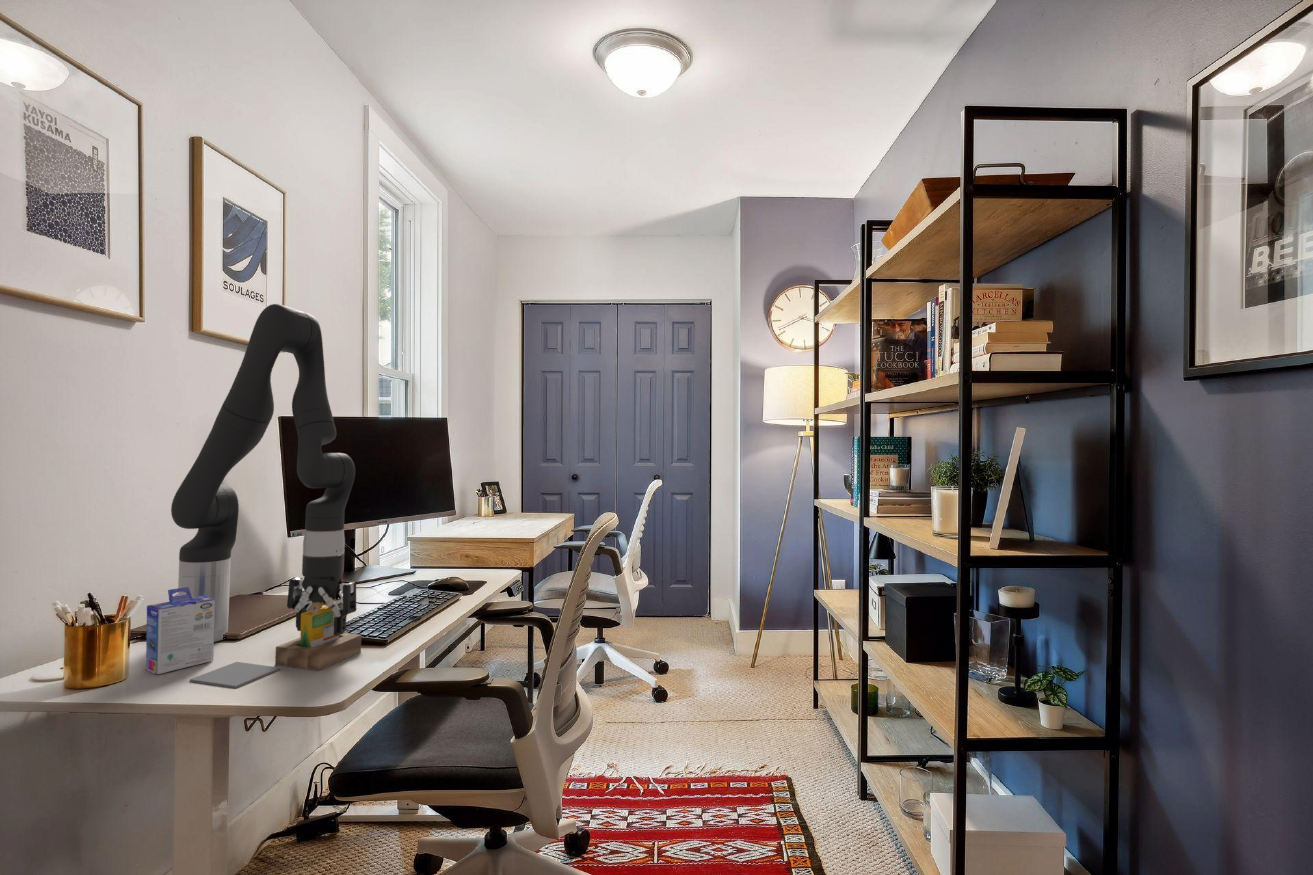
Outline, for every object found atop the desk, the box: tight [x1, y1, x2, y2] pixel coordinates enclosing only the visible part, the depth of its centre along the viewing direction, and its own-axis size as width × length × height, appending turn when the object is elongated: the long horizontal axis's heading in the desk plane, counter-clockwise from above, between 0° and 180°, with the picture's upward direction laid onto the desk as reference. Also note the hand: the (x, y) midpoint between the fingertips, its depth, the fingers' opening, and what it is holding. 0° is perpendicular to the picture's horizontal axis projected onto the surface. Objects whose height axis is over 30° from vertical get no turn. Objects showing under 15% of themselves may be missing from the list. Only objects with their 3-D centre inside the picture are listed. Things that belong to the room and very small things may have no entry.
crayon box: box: [299, 599, 340, 648], centre depth 134 cm, size 7×3×12 cm, turn 160°
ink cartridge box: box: [145, 587, 215, 675], centre depth 127 cm, size 10×6×14 cm, turn 149°
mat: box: [189, 661, 281, 689], centre depth 123 cm, size 10×10×1 cm
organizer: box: [274, 632, 362, 671], centre depth 134 cm, size 10×12×4 cm
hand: (320, 632), depth 134 cm, fingers open, 8 cm apart
